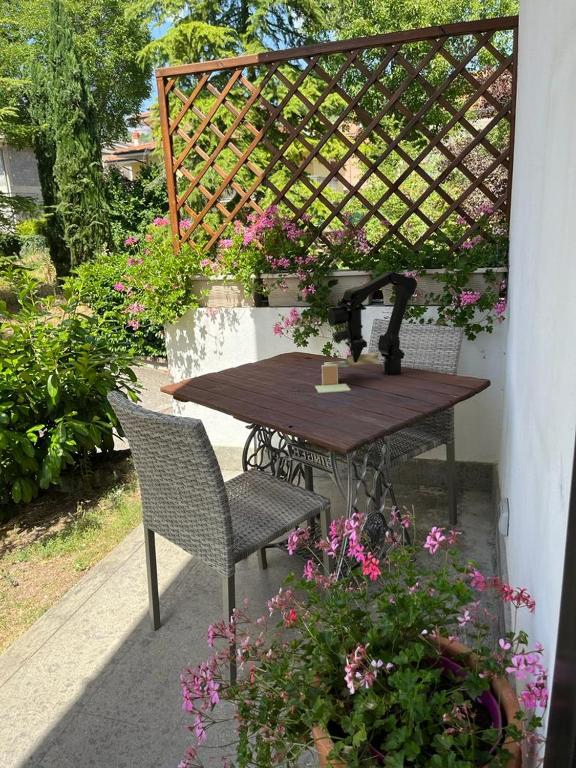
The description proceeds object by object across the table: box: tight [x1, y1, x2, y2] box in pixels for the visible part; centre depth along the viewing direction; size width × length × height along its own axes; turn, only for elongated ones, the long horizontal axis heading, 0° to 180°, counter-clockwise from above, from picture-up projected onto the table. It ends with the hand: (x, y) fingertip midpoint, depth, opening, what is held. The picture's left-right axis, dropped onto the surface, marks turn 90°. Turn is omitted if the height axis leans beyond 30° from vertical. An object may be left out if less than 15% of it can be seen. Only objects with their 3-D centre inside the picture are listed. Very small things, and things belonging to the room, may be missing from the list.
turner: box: [323, 352, 379, 368], centre depth 222 cm, size 21×7×4 cm, turn 95°
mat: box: [314, 383, 351, 394], centre depth 213 cm, size 12×9×1 cm
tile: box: [321, 364, 339, 386], centre depth 217 cm, size 6×2×8 cm, turn 95°
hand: (354, 361), depth 222 cm, fingers closed on turner, 3 cm apart
